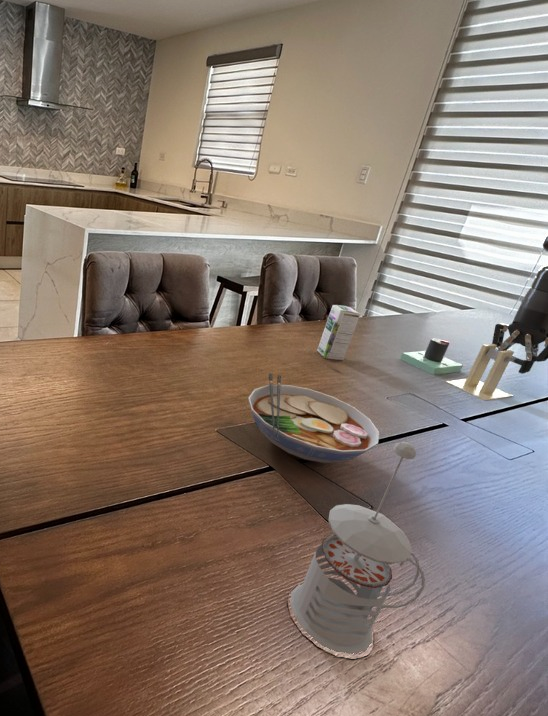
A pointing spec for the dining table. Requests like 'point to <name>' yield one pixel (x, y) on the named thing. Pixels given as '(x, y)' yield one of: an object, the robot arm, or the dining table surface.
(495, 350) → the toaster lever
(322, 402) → the ramen bowl
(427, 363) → the panel
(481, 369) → the wooden stand
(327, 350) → the syrup box
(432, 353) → the black sushi roll
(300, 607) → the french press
